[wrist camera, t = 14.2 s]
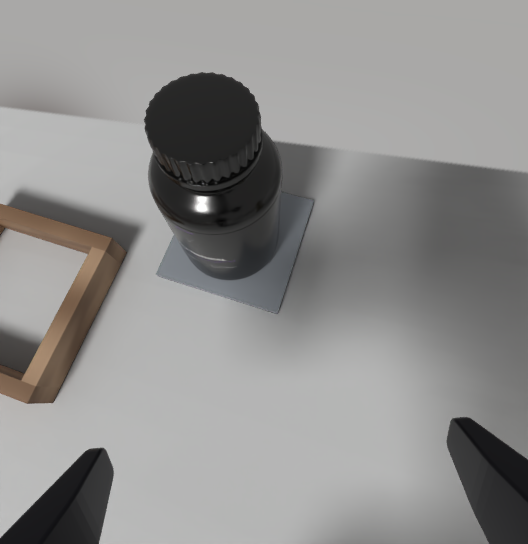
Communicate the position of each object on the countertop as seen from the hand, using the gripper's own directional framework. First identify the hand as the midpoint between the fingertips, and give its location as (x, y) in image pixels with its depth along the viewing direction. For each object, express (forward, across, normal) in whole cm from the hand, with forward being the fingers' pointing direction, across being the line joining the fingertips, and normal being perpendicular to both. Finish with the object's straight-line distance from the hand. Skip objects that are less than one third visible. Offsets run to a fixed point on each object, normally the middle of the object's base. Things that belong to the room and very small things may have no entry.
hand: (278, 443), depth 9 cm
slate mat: (+18, +2, +1) cm, 18 cm away
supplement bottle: (+18, +2, +1) cm, 18 cm away
